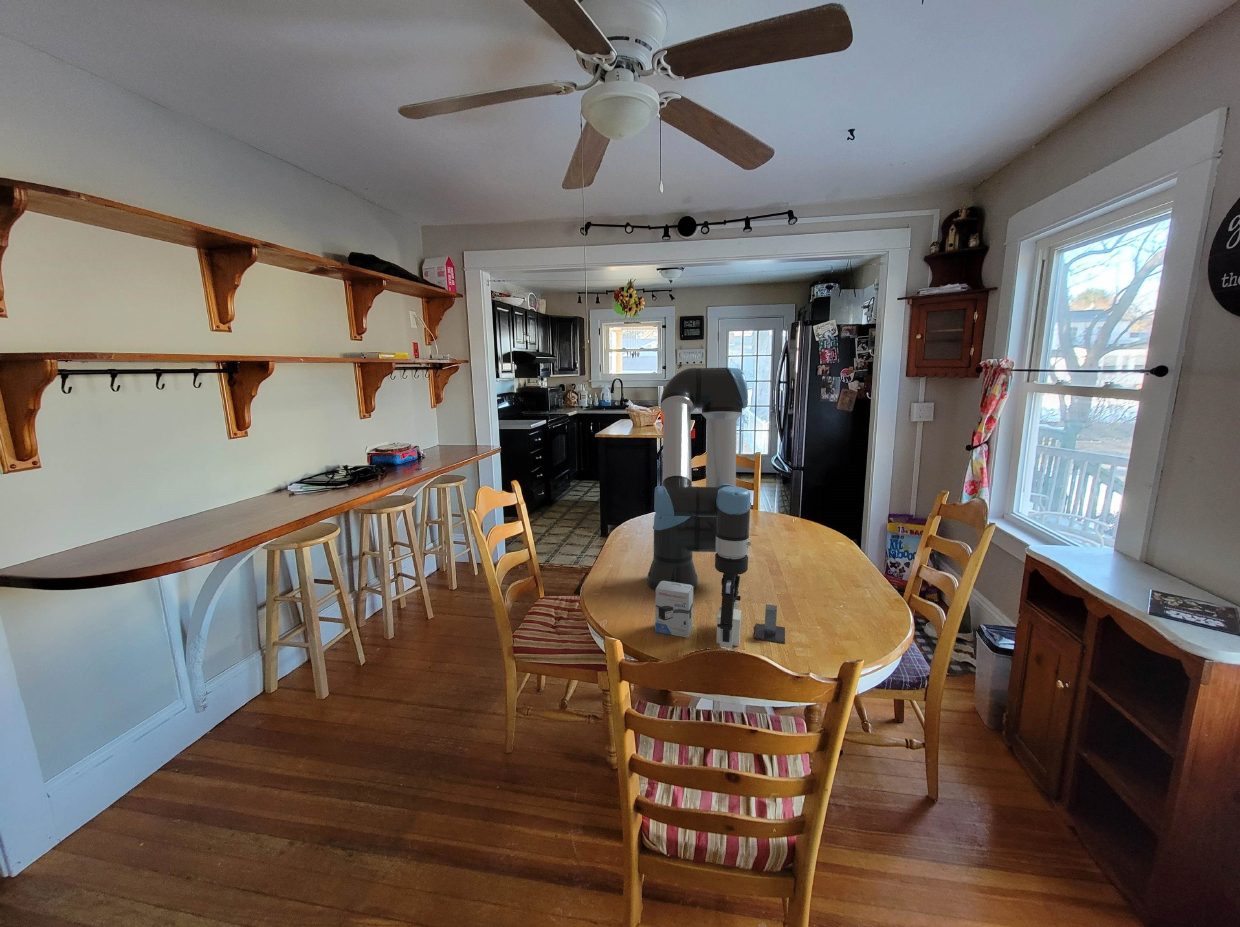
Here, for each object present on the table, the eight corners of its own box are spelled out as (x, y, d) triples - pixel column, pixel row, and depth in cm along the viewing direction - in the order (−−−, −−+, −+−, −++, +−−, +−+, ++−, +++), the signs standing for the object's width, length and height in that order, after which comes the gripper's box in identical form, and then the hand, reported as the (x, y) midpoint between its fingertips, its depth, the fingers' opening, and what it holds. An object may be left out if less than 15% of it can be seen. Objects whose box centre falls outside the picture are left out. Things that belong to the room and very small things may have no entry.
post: (754, 638, 122) (755, 611, 121) (755, 625, 129) (757, 599, 128) (784, 643, 120) (786, 615, 119) (784, 629, 127) (786, 602, 126)
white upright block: (716, 642, 121) (717, 616, 119) (718, 632, 126) (719, 607, 124) (738, 646, 119) (739, 620, 118) (740, 635, 124) (741, 610, 123)
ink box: (654, 632, 126) (654, 587, 124) (660, 623, 130) (660, 580, 128) (688, 638, 123) (689, 593, 121) (692, 629, 127) (693, 584, 125)
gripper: (744, 575, 106) (740, 669, 110) (751, 538, 129) (747, 617, 133) (708, 571, 108) (705, 663, 112) (721, 535, 131) (718, 613, 135)
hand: (728, 638), depth 122 cm, fingers open, 12 cm apart
